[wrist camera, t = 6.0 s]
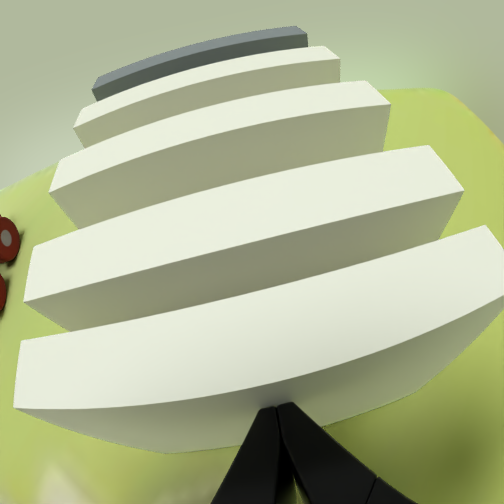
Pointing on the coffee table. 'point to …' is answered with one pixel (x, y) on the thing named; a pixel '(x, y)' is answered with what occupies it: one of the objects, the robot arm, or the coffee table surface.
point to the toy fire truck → (7, 249)
